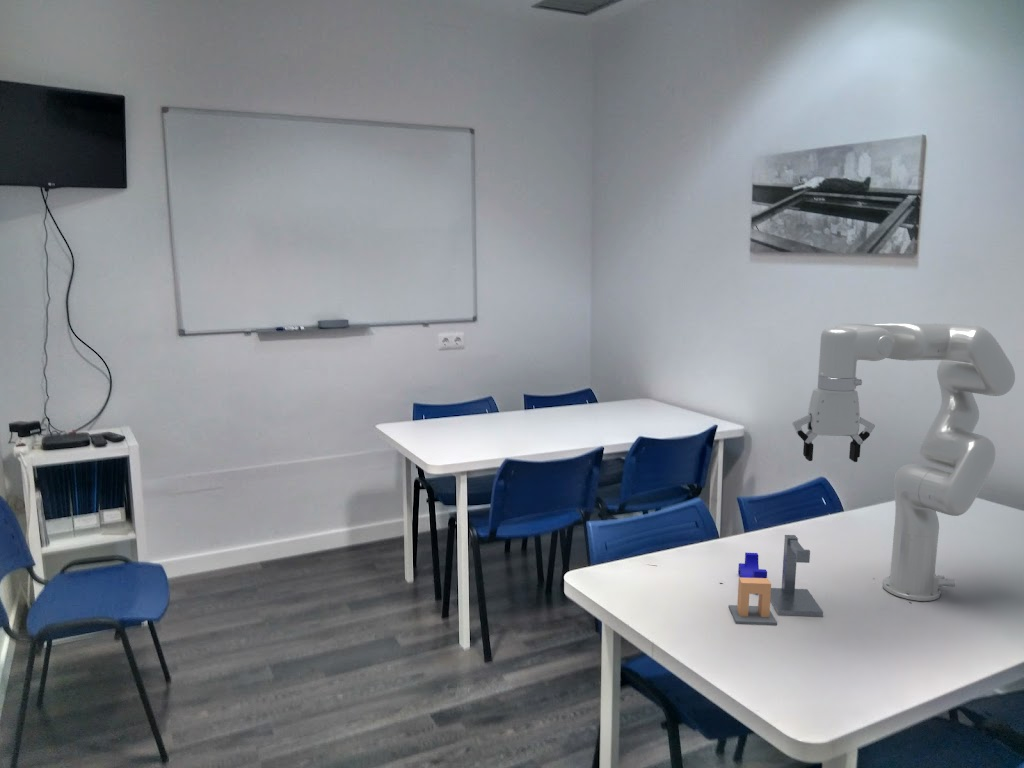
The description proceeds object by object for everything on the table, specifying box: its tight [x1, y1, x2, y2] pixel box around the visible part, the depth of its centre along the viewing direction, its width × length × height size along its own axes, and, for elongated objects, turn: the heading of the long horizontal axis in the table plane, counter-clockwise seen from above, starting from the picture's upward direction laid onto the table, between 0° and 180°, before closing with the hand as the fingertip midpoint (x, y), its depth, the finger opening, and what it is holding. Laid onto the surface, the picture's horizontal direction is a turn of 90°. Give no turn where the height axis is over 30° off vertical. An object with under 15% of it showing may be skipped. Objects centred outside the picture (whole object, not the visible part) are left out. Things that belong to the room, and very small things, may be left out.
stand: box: [770, 534, 824, 618], centre depth 177 cm, size 10×12×15 cm
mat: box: [728, 604, 778, 626], centre depth 173 cm, size 9×8×1 cm
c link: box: [736, 577, 772, 617], centre depth 172 cm, size 6×3×8 cm, turn 86°
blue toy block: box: [738, 552, 768, 578], centre depth 190 cm, size 12×4×6 cm, turn 173°
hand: (830, 460), depth 168 cm, fingers open, 9 cm apart
